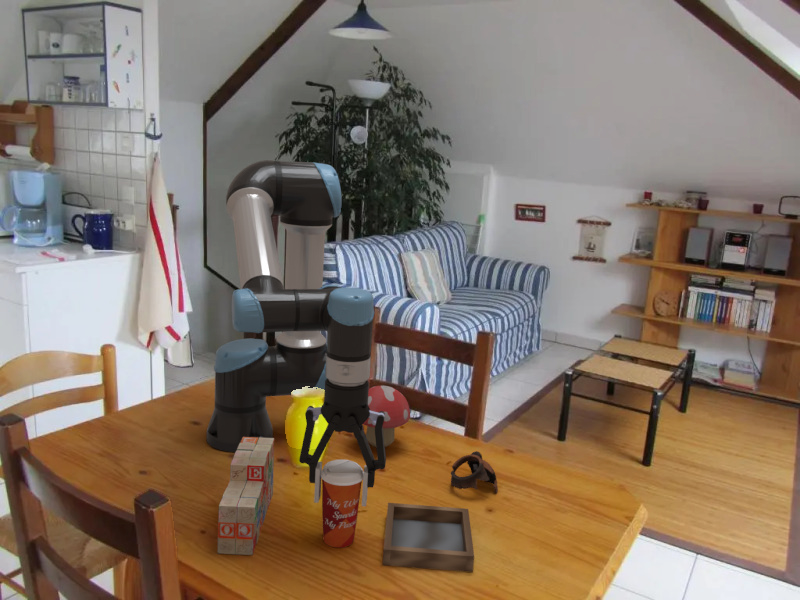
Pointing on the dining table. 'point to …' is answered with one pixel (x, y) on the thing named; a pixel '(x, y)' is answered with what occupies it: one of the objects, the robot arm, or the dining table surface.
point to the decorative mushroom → (386, 412)
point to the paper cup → (340, 501)
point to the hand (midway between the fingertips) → (340, 500)
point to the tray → (428, 537)
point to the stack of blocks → (246, 496)
